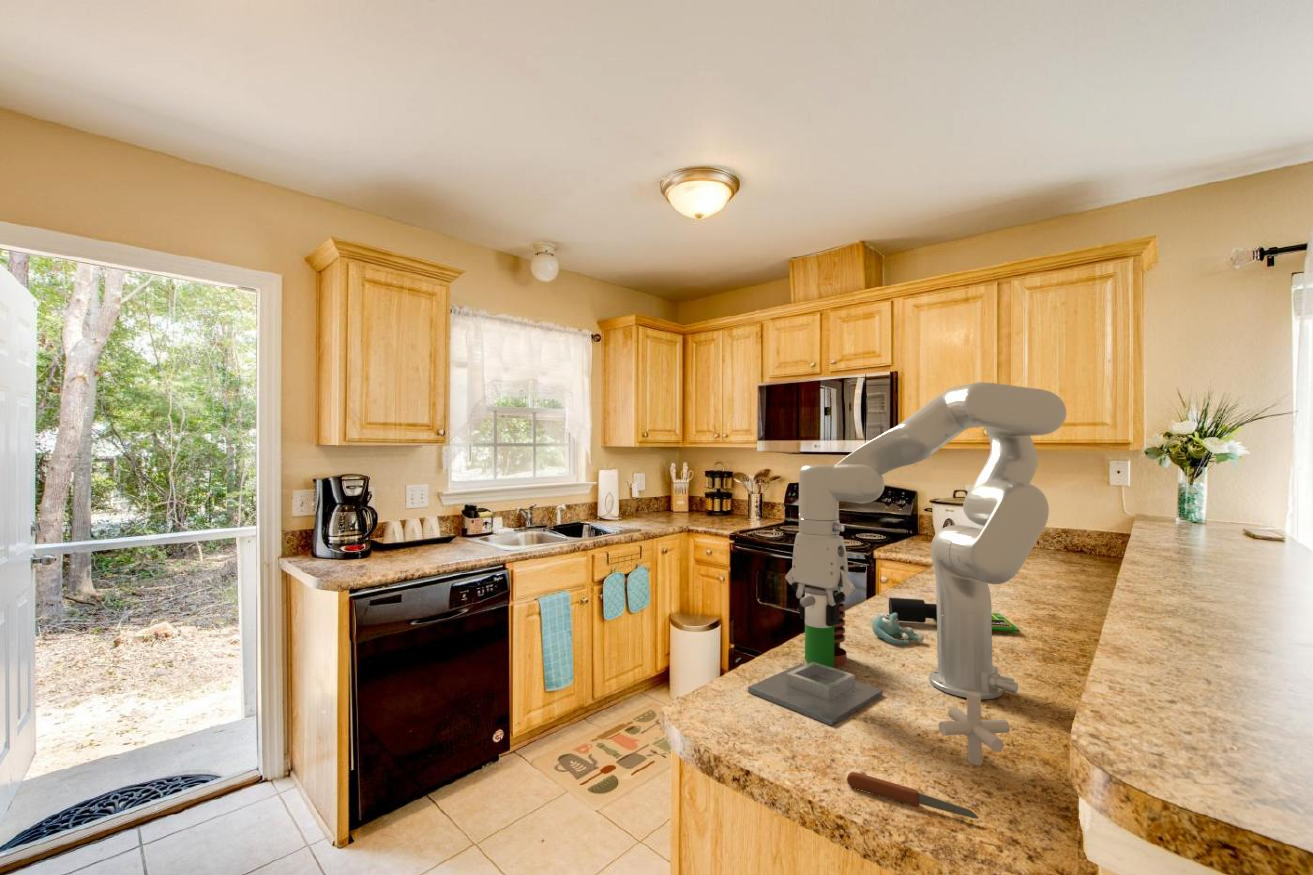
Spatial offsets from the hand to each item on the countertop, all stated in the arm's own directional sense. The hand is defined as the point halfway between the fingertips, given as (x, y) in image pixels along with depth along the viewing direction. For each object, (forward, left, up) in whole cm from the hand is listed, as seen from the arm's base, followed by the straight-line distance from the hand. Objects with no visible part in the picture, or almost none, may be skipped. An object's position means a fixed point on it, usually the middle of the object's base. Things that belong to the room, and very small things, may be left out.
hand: (818, 620), depth 108 cm
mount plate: (0, +2, -14) cm, 14 cm away
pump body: (0, +1, -1) cm, 1 cm away
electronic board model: (0, -65, -14) cm, 66 cm away
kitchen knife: (-27, +22, -14) cm, 37 cm away
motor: (+8, -15, -14) cm, 22 cm away
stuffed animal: (+3, -41, -14) cm, 43 cm away
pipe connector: (-29, +5, -14) cm, 33 cm away
